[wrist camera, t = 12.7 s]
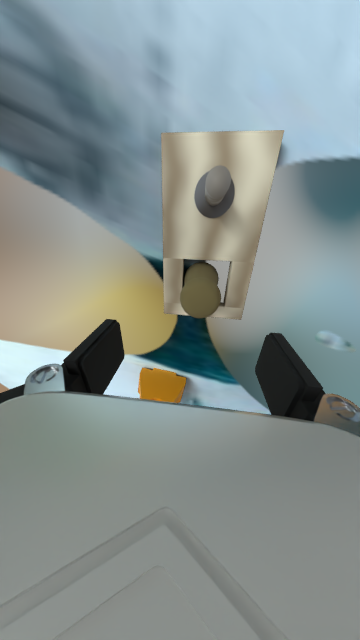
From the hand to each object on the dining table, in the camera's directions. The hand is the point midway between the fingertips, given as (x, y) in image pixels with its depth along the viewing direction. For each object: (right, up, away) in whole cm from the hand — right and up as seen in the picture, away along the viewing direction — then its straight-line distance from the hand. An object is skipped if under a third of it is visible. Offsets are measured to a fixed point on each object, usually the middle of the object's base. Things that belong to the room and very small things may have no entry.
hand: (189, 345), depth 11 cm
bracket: (-5, -14, +32) cm, 35 cm away
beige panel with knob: (+4, +14, +16) cm, 21 cm away
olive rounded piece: (+3, +9, +19) cm, 21 cm away
